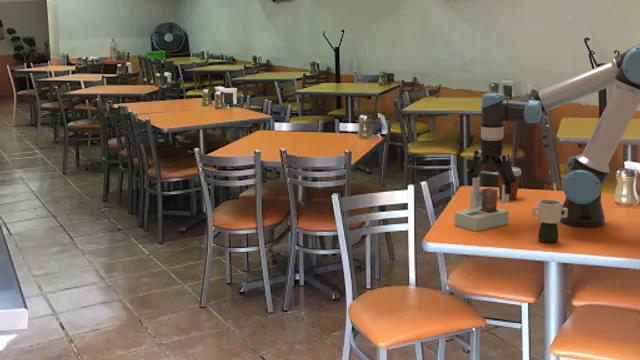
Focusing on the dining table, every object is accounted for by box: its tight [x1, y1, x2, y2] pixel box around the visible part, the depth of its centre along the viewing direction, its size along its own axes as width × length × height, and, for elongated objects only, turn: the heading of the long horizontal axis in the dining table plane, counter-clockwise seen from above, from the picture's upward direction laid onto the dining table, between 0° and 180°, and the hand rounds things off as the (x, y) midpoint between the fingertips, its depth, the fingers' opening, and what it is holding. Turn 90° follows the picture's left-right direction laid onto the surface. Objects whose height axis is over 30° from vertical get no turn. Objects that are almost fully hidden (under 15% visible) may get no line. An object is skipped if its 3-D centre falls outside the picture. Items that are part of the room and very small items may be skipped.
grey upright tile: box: [470, 188, 483, 209], centre depth 266 cm, size 2×6×9 cm, turn 124°
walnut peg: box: [481, 187, 498, 213], centre depth 255 cm, size 4×4×12 cm
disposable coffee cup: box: [496, 166, 522, 201], centre depth 289 cm, size 10×10×12 cm
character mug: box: [531, 198, 568, 243], centre depth 234 cm, size 11×7×13 cm, turn 77°
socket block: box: [454, 207, 510, 232], centre depth 254 cm, size 10×16×4 cm, turn 124°
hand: (490, 199), depth 254 cm, fingers open, 13 cm apart
